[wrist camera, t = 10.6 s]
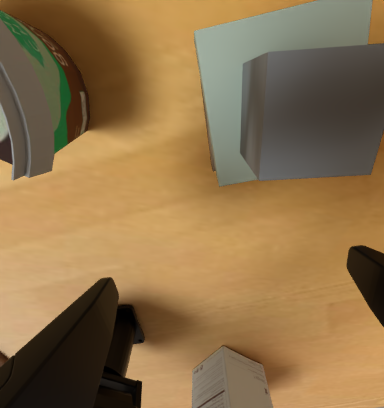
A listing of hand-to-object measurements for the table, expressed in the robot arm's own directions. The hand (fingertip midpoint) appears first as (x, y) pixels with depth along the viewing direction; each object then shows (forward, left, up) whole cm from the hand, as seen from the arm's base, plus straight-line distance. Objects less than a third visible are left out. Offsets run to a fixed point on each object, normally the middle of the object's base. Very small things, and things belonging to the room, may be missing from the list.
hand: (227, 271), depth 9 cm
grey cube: (+4, -5, -8) cm, 11 cm away
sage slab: (+5, -5, -11) cm, 13 cm away
